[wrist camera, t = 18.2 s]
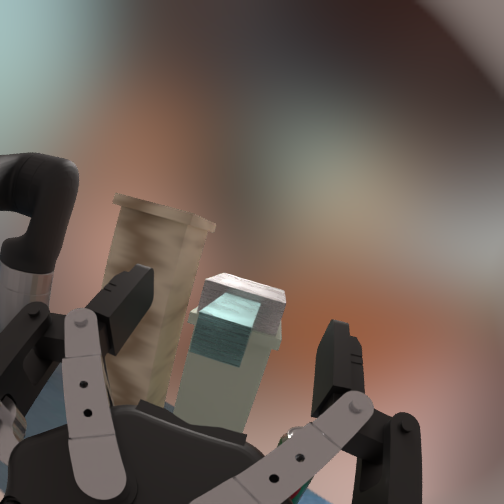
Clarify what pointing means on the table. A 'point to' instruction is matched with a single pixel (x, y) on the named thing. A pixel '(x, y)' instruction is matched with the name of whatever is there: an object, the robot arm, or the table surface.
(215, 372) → the low stand
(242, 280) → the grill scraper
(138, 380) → the high stand
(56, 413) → the table surface
